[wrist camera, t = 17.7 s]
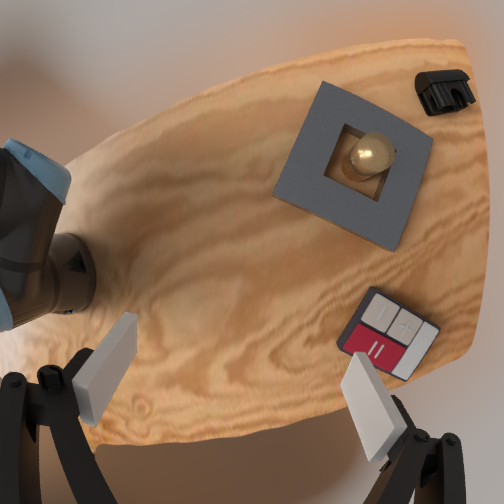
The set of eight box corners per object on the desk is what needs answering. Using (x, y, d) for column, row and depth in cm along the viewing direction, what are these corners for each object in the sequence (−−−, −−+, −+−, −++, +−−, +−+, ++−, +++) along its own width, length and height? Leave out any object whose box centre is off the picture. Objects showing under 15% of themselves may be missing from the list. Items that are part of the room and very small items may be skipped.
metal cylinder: (336, 173, 43) (353, 158, 33) (347, 145, 42) (365, 125, 33) (364, 187, 43) (388, 177, 33) (375, 159, 42) (399, 143, 32)
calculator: (376, 288, 41) (443, 329, 40) (369, 284, 45) (433, 322, 44) (338, 351, 42) (407, 384, 41) (334, 341, 46) (400, 374, 45)
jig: (272, 196, 44) (272, 194, 41) (320, 88, 42) (322, 80, 39) (387, 250, 43) (394, 252, 40) (425, 143, 41) (433, 138, 38)
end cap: (446, 78, 39) (462, 64, 33) (461, 110, 40) (480, 99, 33) (408, 82, 40) (423, 66, 34) (425, 117, 41) (443, 104, 34)
